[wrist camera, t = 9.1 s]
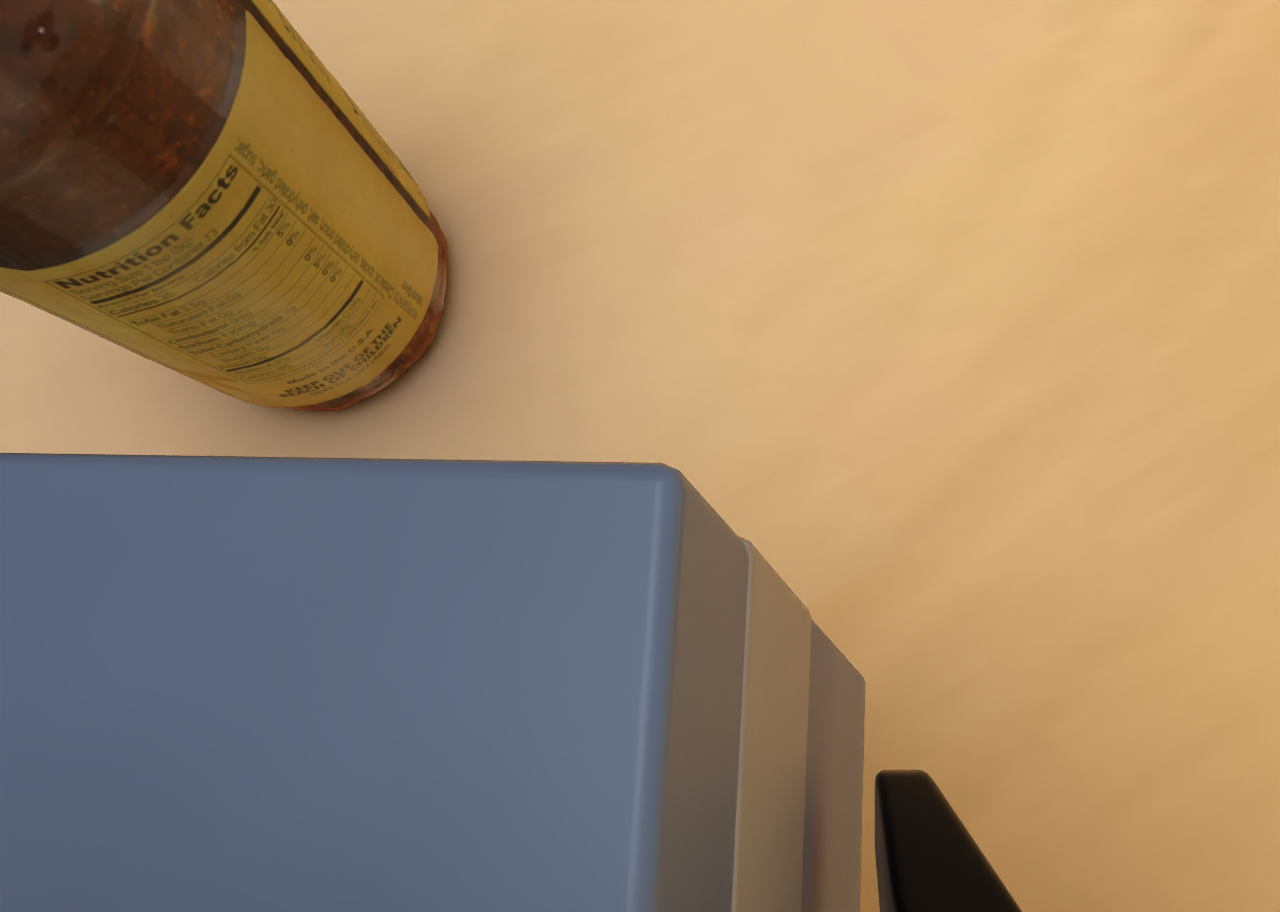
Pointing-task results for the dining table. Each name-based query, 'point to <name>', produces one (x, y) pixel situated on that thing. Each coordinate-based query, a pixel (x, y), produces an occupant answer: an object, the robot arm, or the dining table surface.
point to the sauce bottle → (210, 199)
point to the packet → (409, 693)
